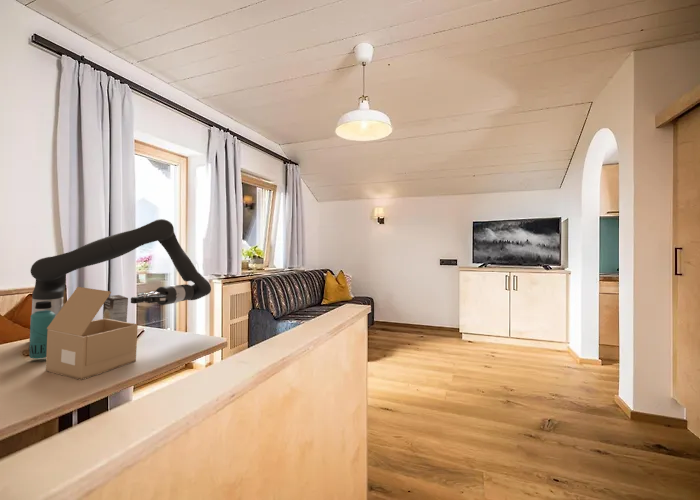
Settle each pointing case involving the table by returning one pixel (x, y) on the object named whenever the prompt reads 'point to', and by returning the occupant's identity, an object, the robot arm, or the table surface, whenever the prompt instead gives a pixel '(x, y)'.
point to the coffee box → (115, 308)
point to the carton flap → (79, 311)
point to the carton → (92, 349)
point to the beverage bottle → (40, 330)
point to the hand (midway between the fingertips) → (132, 300)
